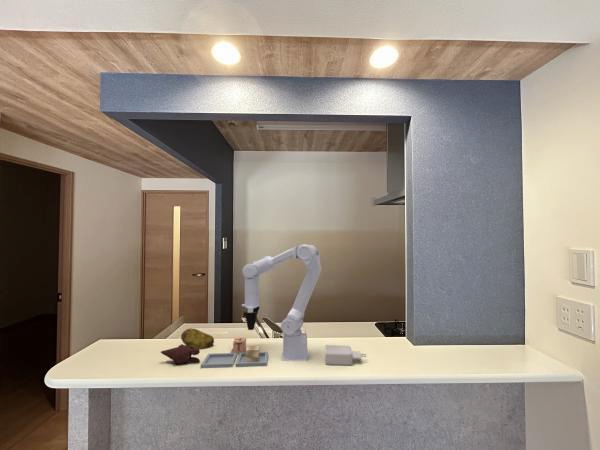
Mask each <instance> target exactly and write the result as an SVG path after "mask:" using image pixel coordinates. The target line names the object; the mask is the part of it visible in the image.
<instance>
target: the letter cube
mask: <svg viewBox="0 0 600 450" xmlns="http://www.w3.org/2000/svg"><path fill="white" fill-rule="evenodd" d="M246 348H247V337H235V338H234V339H233V341H232V349H233V353H245V350H246Z"/></svg>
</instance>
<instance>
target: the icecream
mask: <svg viewBox="0 0 600 450" xmlns="http://www.w3.org/2000/svg"><path fill="white" fill-rule="evenodd" d="M200 351H201V350H200V349H196V348H195V349H194V348H192V349H191V347H190V346H187V345H185V344H184V343H182V344H179V345H178V346H177V347H174V348H168V349H164V350H161V351H160V353H161V355H163V356H165V357H167V358H168V359H170V360H172V361H173V362H174V364H175V365H183V364H186V363H188V362H190V363H192V364H200V362H201V361H200V359H199V357H196V356H198V355H199V354H200ZM194 356H195V357H194Z"/></svg>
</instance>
